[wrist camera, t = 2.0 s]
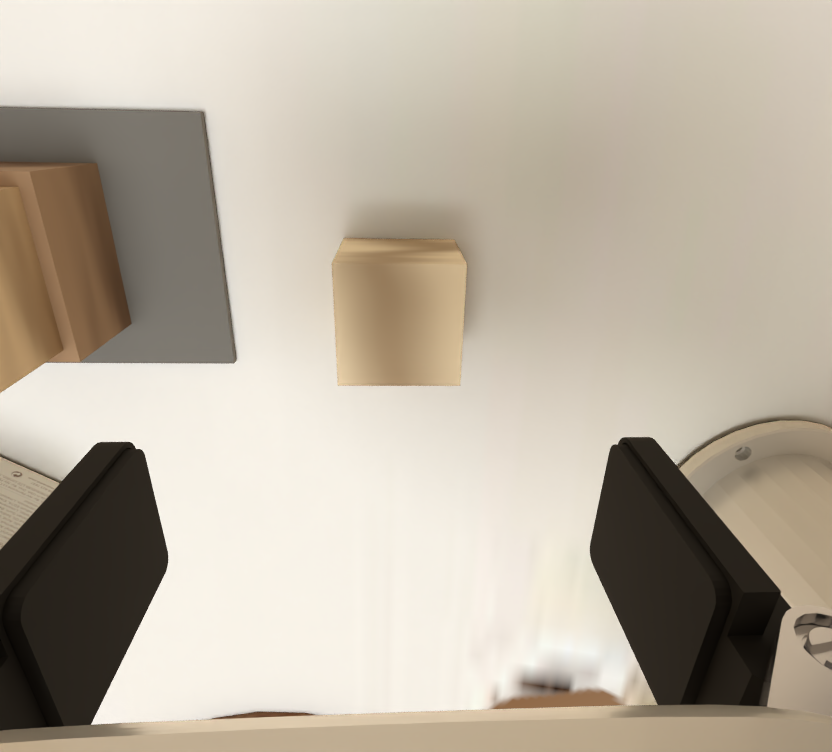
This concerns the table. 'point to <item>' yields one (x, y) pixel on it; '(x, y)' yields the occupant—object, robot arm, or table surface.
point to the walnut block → (73, 251)
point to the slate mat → (145, 222)
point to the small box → (20, 496)
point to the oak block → (22, 297)
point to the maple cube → (399, 312)
